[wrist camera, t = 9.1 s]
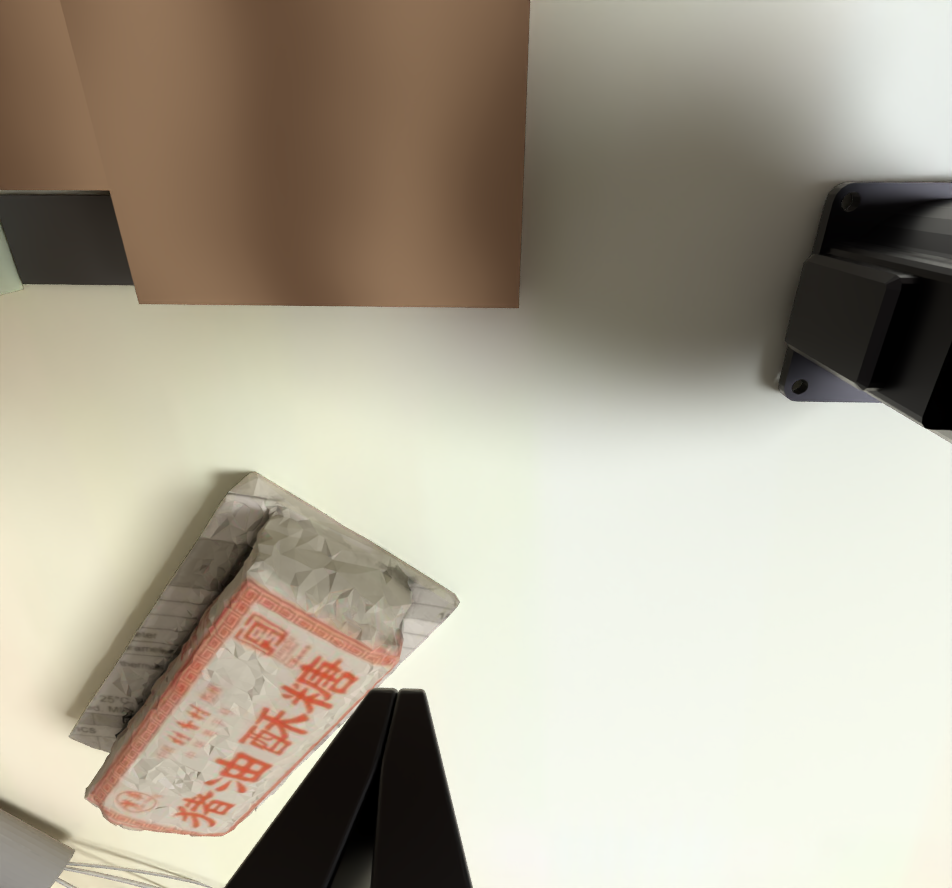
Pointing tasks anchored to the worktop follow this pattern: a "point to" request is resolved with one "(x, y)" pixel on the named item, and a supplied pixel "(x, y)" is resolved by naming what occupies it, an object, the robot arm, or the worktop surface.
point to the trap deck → (266, 149)
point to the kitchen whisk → (45, 858)
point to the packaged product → (250, 662)
